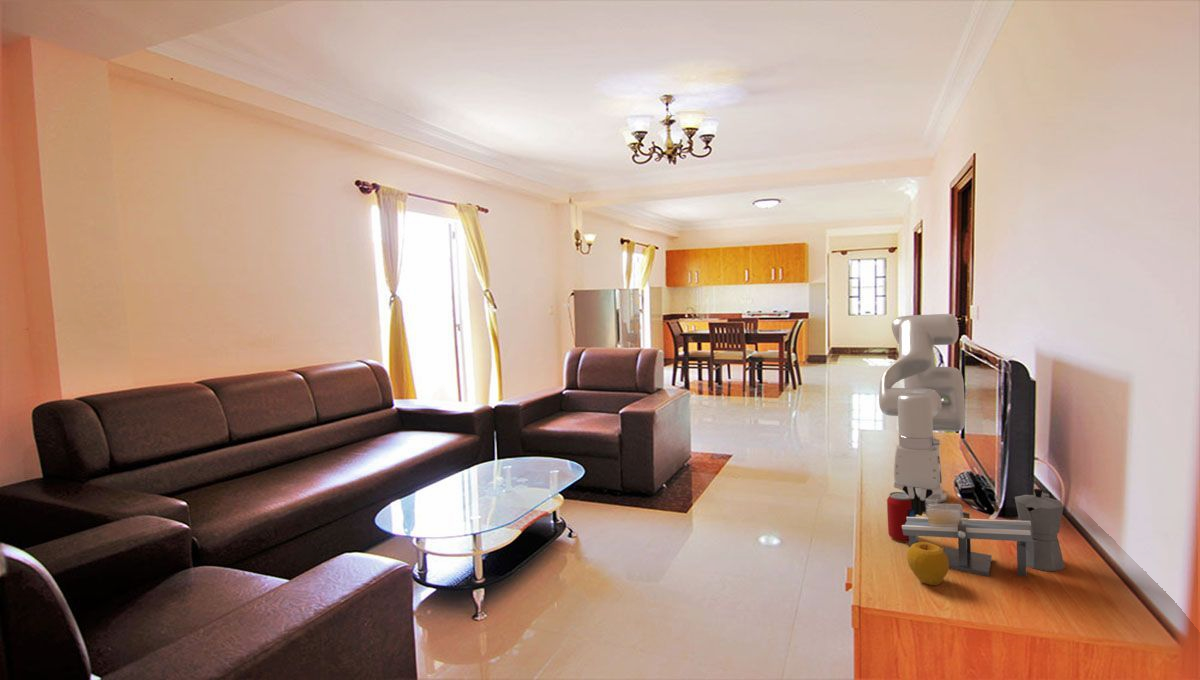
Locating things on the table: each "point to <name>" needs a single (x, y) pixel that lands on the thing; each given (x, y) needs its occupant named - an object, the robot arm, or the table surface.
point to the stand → (975, 555)
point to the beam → (972, 529)
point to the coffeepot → (1042, 529)
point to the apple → (928, 562)
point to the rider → (945, 515)
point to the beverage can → (898, 514)
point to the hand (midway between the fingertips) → (918, 513)
